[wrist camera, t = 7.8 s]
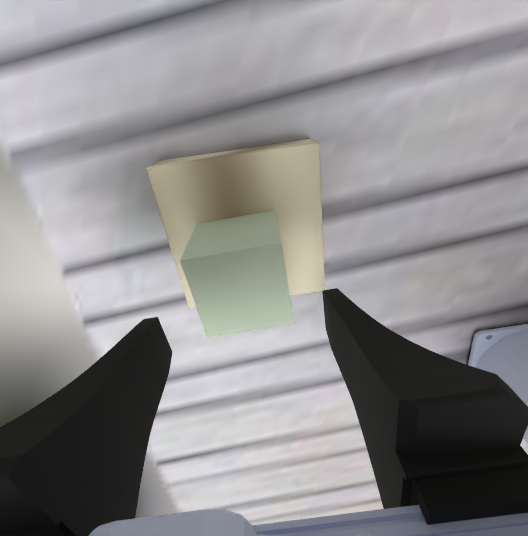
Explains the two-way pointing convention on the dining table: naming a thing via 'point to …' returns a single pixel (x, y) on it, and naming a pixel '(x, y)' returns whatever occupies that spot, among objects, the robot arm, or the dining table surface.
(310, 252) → the beige block
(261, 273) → the sage cube
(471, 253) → the dining table surface
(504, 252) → the dining table surface
